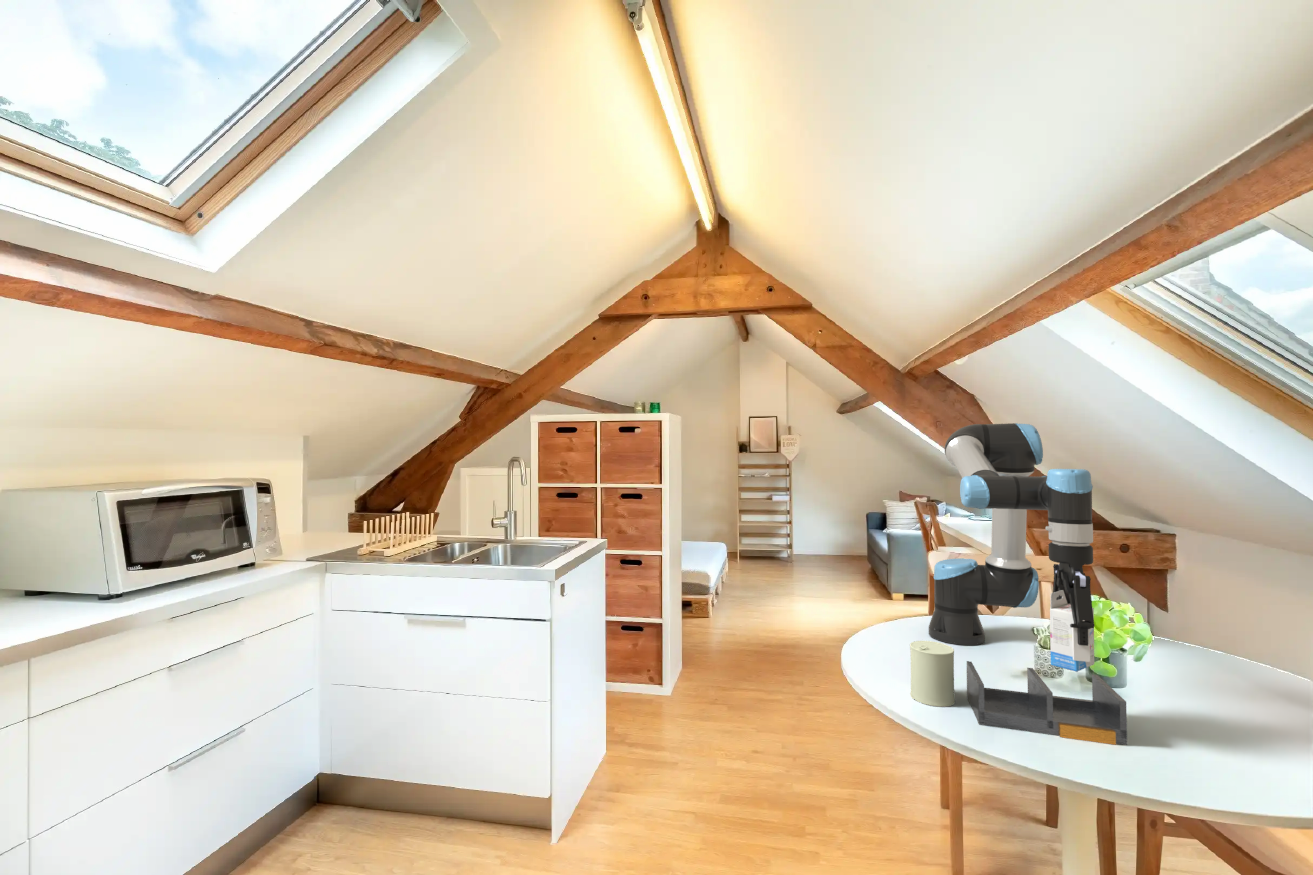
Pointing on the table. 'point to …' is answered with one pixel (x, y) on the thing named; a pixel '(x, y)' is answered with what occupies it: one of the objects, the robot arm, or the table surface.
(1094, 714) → the rack
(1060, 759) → the table surface
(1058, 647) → the ink box
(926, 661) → the can
